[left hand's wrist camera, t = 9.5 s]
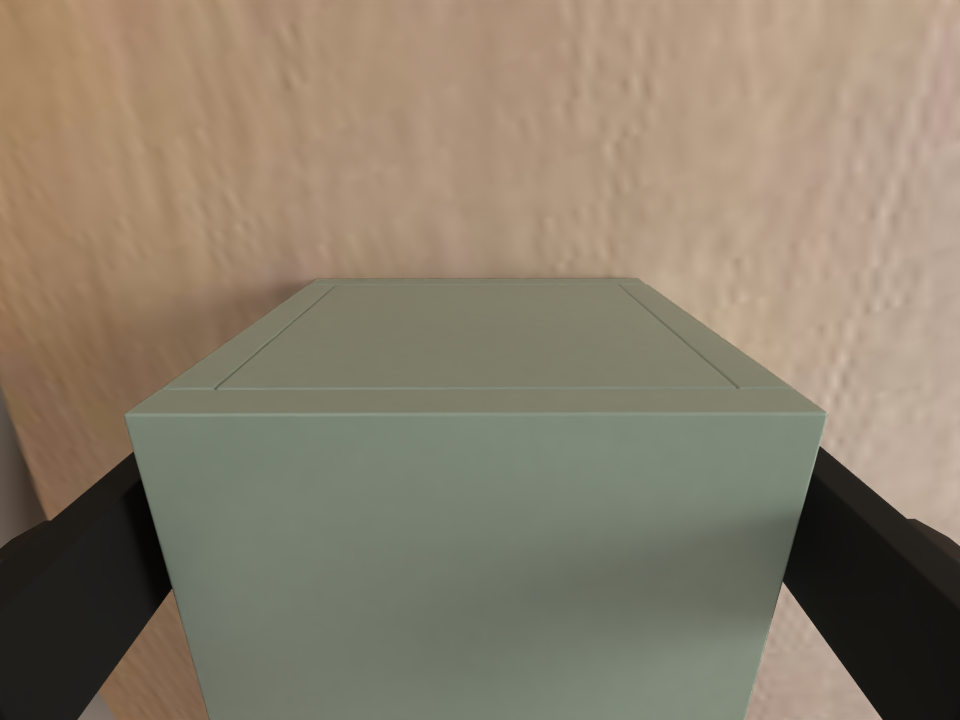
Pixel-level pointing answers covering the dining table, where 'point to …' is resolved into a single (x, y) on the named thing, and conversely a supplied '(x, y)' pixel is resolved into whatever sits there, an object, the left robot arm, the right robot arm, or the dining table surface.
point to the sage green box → (476, 504)
